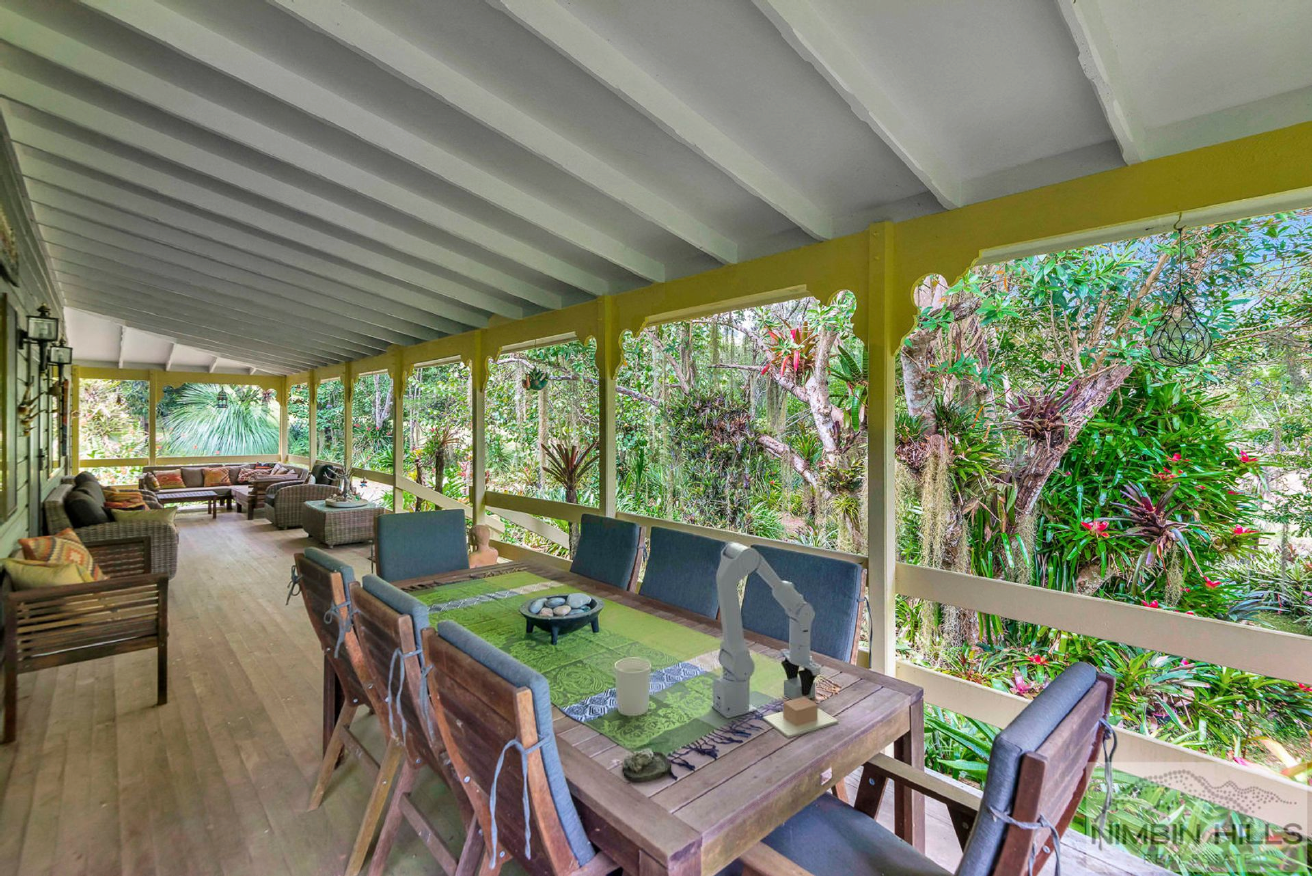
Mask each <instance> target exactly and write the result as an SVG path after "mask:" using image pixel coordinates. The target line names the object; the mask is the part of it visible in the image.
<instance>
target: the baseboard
mask: <svg viewBox="0 0 1312 876" xmlns="http://www.w3.org/2000/svg"><path fill="white" fill-rule="evenodd" d="M762 720H763V721H765V722H766V723H768V724H769V725H770V726H772V728H774V729H775V730H777V731H778V732H780V733H781V734H782V735H783V736H785V737H786V738H788V739H790V738H793V737H797V736H798V735H802V734H807V733H809V732H812V731H815V730H818V729H823V728H826V727H829V726H832V725H836V724H838V723H839V720H838V719H837V718H835V717H833V716H832V715H830V714H828V713H827V712H825V711H824V710H822V709H821V708H819V707H818V720H816V721H813V722H809V723H806V724H803V725H799V726H795V725H793V724H792V723H790V722H789V721H788V720H786V719H785V718H783V711H780V712H776V713H772V714H769V715H765V716H762Z"/></svg>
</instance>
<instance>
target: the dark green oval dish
mask: <svg viewBox="0 0 1312 876" xmlns="http://www.w3.org/2000/svg"><path fill="white" fill-rule="evenodd" d="M621 765H622V769H621V771H622V772H621V773H622V775H623V778H625V779H626V780H628V782H630V783H633V784H639V783H647V782H651V781H656V780H660V779H663V778H665V777H666V776H667V775H668V774H670V772H672V763H671V761H670V760H669V759H667V757H665V755H664V753H662V752H661V751H652V749H651V748H648V747H646V748H642V749H641V750H636V751H634V752H633V754H632V755H631V754H628V755H627V756H626V757H625V758H623V760H622V764H621Z"/></svg>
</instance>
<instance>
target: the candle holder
mask: <svg viewBox="0 0 1312 876" xmlns="http://www.w3.org/2000/svg"><path fill="white" fill-rule="evenodd" d="M651 669H652V663H651V661H650V660H648V659H646V658H643V657H635V656H634V657H625V658H621V659H619V660H617V661H616V662H615V663H614V676H615V677H614V678H615V693H616V706H617V707H616V708H617V711H618V713H620V714H621V715H622V716H627V717H638V716H641V715H643V714H646V713H647V712H648V710H649V706H650V705H649V704H650V688H651V687H650V686H651V673H652V672H651V671H652V670H651Z"/></svg>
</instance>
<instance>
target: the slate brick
mask: <svg viewBox="0 0 1312 876" xmlns="http://www.w3.org/2000/svg"><path fill="white" fill-rule="evenodd" d="M783 695H784V696H786V697H787V698H788V699H789V700H793V699H797V698H800V697H804V696H803V695H802V688H801V680H800V676H798V677H796V678H792V679H785V680H783ZM805 697H806V698H808V699H809V700H810V699H812V698H815V697H816V682H815V681H814V682H813V684H812V687H811V691H810V695H806V696H805Z"/></svg>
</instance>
